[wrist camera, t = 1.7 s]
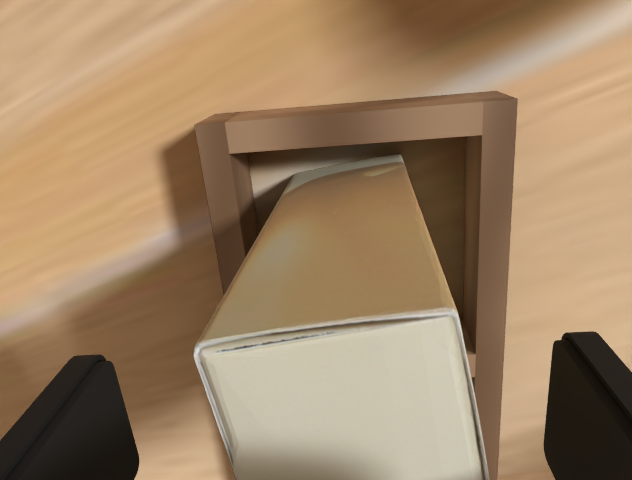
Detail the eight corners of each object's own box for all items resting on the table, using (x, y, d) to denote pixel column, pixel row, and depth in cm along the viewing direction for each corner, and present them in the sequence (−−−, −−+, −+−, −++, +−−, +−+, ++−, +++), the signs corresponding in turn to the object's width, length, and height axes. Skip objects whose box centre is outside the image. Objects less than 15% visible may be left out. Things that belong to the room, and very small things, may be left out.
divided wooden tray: (496, 91, 17) (517, 99, 15) (480, 499, 24) (493, 548, 22) (215, 114, 19) (194, 125, 16) (275, 499, 25) (267, 545, 23)
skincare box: (427, 296, 21) (511, 611, 9) (323, 313, 21) (283, 626, 10) (401, 141, 18) (469, 307, 7) (286, 166, 19) (180, 352, 8)
